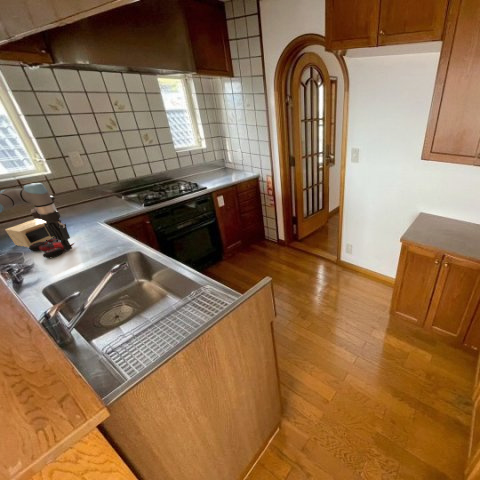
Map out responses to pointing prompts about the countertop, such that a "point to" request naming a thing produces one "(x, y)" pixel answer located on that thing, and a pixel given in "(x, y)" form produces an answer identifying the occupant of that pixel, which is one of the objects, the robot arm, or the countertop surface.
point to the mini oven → (29, 233)
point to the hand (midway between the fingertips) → (68, 249)
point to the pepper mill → (35, 213)
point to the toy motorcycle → (48, 248)
